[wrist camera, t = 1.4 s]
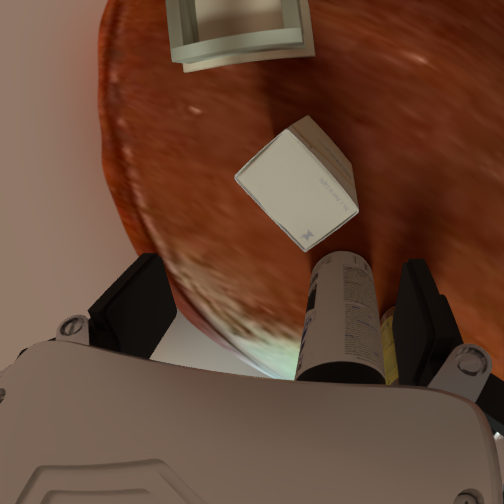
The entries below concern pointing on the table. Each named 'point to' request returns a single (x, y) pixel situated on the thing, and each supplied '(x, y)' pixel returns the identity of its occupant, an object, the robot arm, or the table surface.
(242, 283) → the table surface
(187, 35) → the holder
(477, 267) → the table surface
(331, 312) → the spray can
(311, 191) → the skincare box
